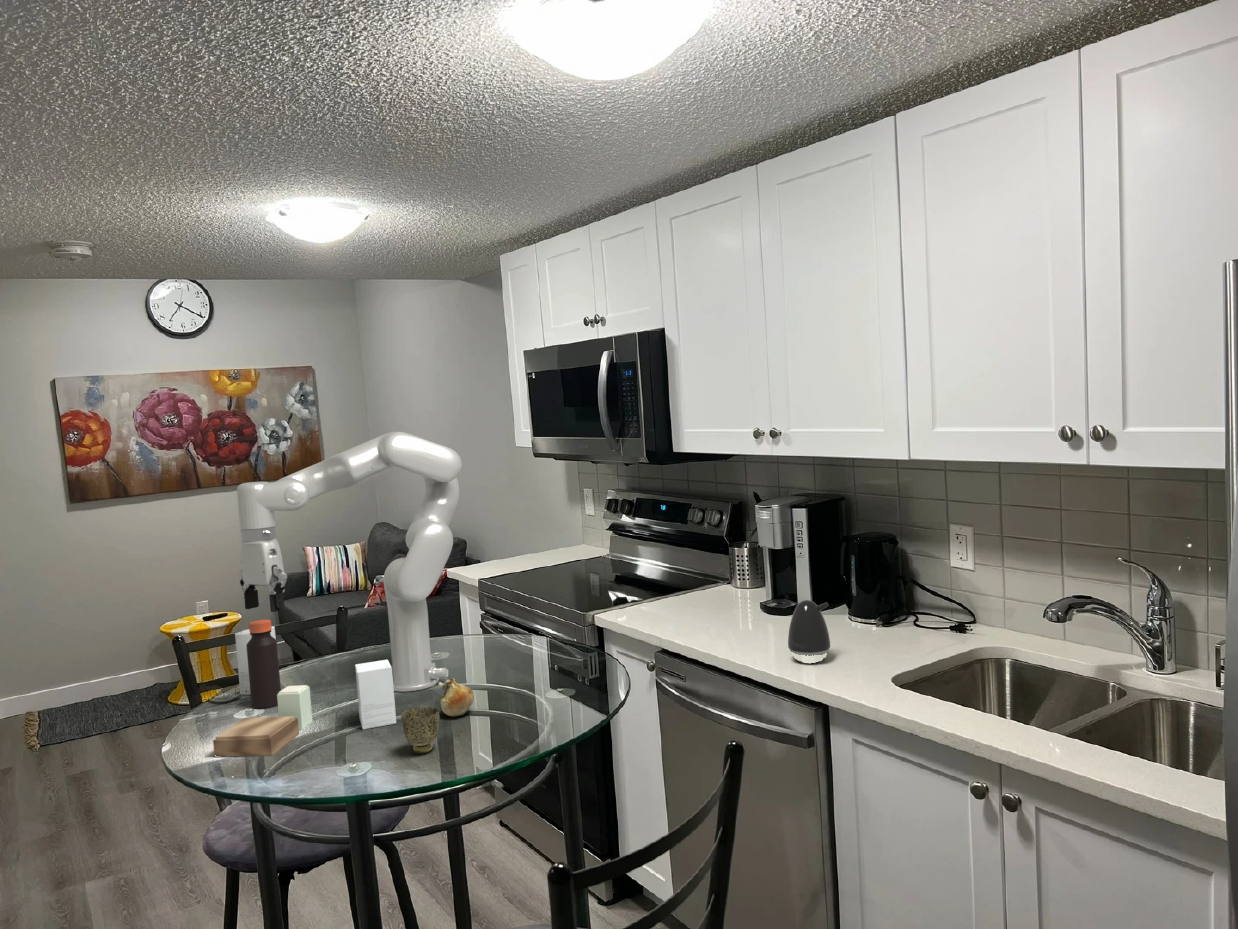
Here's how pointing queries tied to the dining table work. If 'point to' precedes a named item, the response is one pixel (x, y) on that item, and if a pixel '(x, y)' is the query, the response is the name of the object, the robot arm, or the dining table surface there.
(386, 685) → the supplement box
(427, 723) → the cup
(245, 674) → the skincare box
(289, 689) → the sage block
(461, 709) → the onion
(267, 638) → the bottle
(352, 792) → the dining table surface
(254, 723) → the base block
